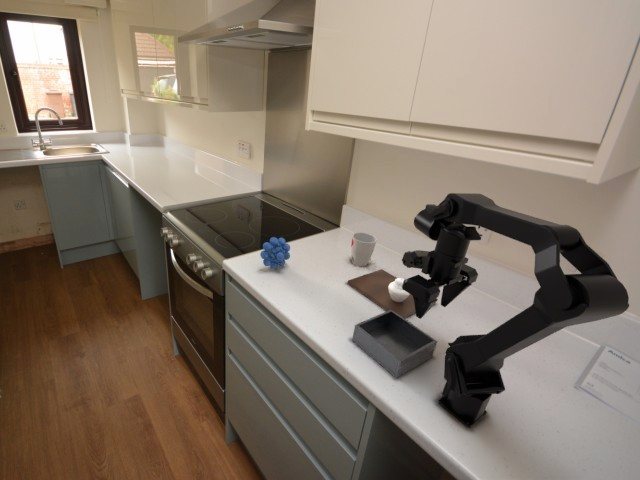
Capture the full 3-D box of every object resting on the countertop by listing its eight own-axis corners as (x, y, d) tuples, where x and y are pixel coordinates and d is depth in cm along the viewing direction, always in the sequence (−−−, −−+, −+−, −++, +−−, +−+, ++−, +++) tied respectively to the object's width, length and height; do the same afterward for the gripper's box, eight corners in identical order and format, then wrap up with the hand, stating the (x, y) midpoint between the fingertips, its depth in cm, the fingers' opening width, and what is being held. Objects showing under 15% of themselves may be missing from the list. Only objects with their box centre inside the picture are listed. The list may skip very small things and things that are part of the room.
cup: (353, 254, 127) (358, 230, 123) (374, 262, 122) (380, 237, 118) (344, 262, 121) (348, 237, 117) (365, 271, 116) (371, 245, 112)
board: (435, 304, 100) (436, 300, 100) (399, 320, 93) (400, 316, 92) (381, 272, 116) (381, 269, 116) (347, 283, 108) (347, 280, 108)
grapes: (266, 279, 108) (268, 245, 104) (255, 269, 114) (257, 236, 109) (295, 271, 114) (299, 238, 109) (284, 261, 119) (287, 230, 114)
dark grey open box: (432, 356, 81) (437, 341, 79) (396, 378, 74) (400, 361, 72) (387, 323, 91) (391, 309, 89) (351, 340, 85) (355, 324, 83)
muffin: (381, 294, 101) (386, 274, 99) (397, 291, 103) (402, 271, 101) (396, 307, 96) (401, 286, 93) (412, 303, 98) (418, 282, 95)
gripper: (440, 228, 82) (424, 283, 88) (389, 243, 73) (375, 303, 79) (488, 248, 73) (467, 307, 79) (437, 267, 64) (417, 333, 70)
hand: (431, 311), depth 77 cm, fingers open, 9 cm apart
